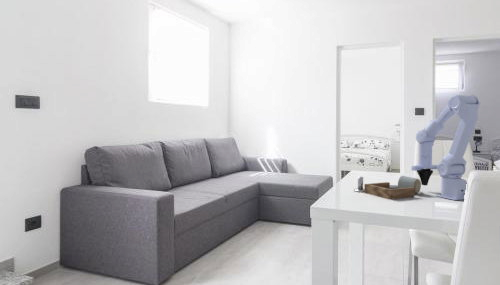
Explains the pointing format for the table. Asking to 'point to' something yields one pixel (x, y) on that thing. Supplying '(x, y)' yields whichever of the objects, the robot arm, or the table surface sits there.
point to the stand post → (360, 185)
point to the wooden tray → (388, 191)
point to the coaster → (393, 186)
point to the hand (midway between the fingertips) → (424, 185)
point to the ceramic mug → (409, 183)
